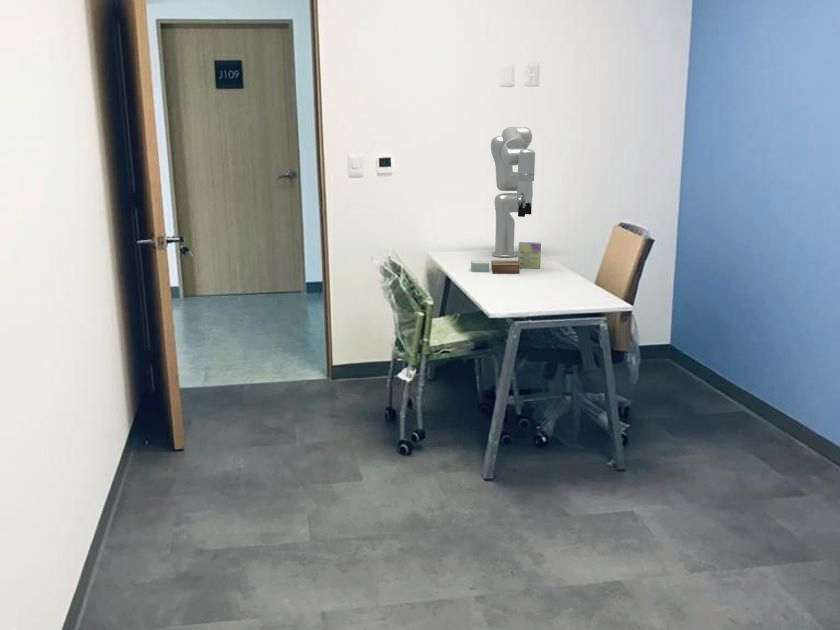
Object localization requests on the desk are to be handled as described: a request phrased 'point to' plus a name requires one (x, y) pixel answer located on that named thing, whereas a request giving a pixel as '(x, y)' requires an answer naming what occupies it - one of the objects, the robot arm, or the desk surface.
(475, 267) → the green block
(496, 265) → the walnut base
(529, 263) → the box
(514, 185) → the robot arm
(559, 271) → the desk surface
